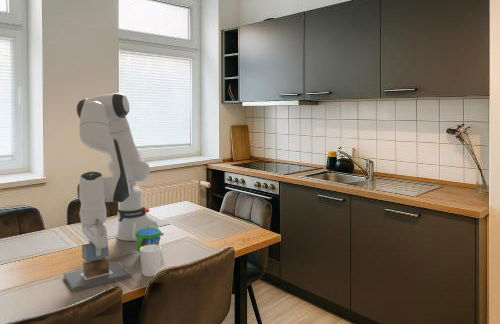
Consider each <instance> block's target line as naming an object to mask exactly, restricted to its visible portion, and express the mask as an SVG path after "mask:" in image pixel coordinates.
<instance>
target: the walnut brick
mask: <svg viewBox="0 0 500 324" xmlns="http://www.w3.org/2000/svg"><path fill="white" fill-rule="evenodd" d="M109 263H110V260H109V259H108V257H104V258H100V259H96V260H92V261H88V262H87V261H85V260H83V261H82V264H83V265H82V267H83V269H82V270H84V275H85V276H86V277H87V278H90V277H94V276H98V275H102V274H106V273H109Z"/></svg>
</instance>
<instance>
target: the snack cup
mask: <svg viewBox="0 0 500 324" xmlns="http://www.w3.org/2000/svg"><path fill="white" fill-rule="evenodd" d="M135 235H136V237H137V241H136V249H135V250H136V251H137V253H140V248H141V247H142V246H145V245H159V246H160V241H161V230H160V229H157V228H144V229H140V230H138V231H136V233H135Z"/></svg>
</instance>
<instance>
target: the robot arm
mask: <svg viewBox="0 0 500 324" xmlns="http://www.w3.org/2000/svg"><path fill="white" fill-rule="evenodd" d="M129 113H130V102H129V99H128V98H127V96H126V95H125V94H124V93H121V92H114V93H107V94H100V95H96V96H92V97H90V98H89V97H88V98H84V99H83V98H82V99H81V100H79V102H78V103H77V104H76V114H77V116H78V118H79V138H80V141H81V142H82V143H83V145H84V146H86V147H88V148H89V149H91V150H93V151H96V152H100V153H103V154H105V155H107V156H109V157H110V161H109V163H108V167H107V168H108V171H109V173H110V174H111V176H107V177H104V176H103V173H101V172H98V171H87V172H84V173H83V174H81V175H80V177H79V183H78V185H77V186H76V187H77V188H76V189H77V199H78V200H79V201H80V207H79V212H78V216H79V219H80V224H81V229H82V233H83V235H84V236H85V237H86V238H87V240H88V244H89V243H93V244H94V245H95V247H96V248H95V255H96V256H100V255H101V249H102V248H106V247H107V246H108V247H109V240H108V232H107V227H106V226H105V225H104V223H105V222H107V220H108V219H107V205H106V203H111V202H112V203H117V204H118V207H117V213H116V214H117V220H118V222H117V223H118V225H117V232H116V236H115V238H116V239H117V240H119V241H127V242H128V241H129V242H131V241H132V242H137V237H136V235H135V233H136V231H138V230H140V229H144V228H157V229H160V230H161V235H163V234H164V230H163V229H162V228H161V227H159V223H158V221H157V220H156V219H155V218H153V216H150V215H149V214H147V213H150V209H149V208H148V207H144V206H143V197H142V196H143V195H142V191H141V188H140V186H139V184H138V182H143V181H146V180H147V179H148V178H149V175H150V173H151V168H150V166H149V163H147V162H146V161H145V160H144V158H143V157H142V155H141V153H140V151H139V150H138V147H137V146H136V144H135V141H134V138H133V135H132V130H131V128H130V125H129V121H128V118H127V116H128V114H129ZM161 235H160V236H161Z"/></svg>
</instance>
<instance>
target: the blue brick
mask: <svg viewBox="0 0 500 324" xmlns="http://www.w3.org/2000/svg"><path fill="white" fill-rule="evenodd" d="M95 248H96V247H95V245H94V244H93V243H89V242H88V243H85V244H81V253H82V254H81V255H82V259H83V261H87V262H88V261H92V260H96V259H100V258H104V257H106V258H108V257H109V253H110V252H109V245H108V246H107V247H106V248H102V249H101V255H100V256H96V255H95Z"/></svg>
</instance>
